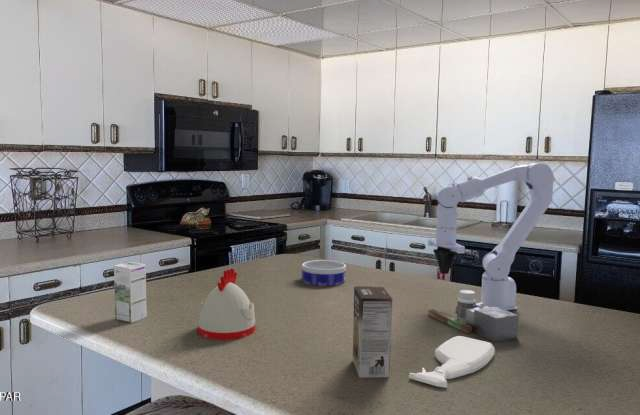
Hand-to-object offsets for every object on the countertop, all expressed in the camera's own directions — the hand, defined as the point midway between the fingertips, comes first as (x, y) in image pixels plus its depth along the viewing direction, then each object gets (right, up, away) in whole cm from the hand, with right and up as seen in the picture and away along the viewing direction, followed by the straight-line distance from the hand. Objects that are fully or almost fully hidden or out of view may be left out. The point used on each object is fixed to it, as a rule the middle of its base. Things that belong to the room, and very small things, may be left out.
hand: (444, 273), depth 154 cm
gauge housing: (+6, -12, -25) cm, 28 cm away
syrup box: (-86, -10, -18) cm, 88 cm away
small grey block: (+5, -12, -22) cm, 26 cm away
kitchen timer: (-60, -11, -25) cm, 66 cm away
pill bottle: (+2, -11, -16) cm, 19 cm away
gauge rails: (+2, -11, -15) cm, 18 cm away
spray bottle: (-9, -14, -45) cm, 48 cm away
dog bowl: (-35, -7, +28) cm, 45 cm away
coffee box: (-26, -14, -47) cm, 56 cm away
